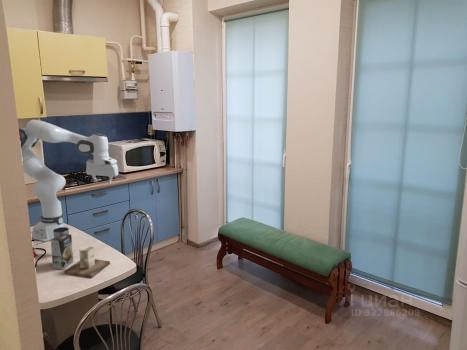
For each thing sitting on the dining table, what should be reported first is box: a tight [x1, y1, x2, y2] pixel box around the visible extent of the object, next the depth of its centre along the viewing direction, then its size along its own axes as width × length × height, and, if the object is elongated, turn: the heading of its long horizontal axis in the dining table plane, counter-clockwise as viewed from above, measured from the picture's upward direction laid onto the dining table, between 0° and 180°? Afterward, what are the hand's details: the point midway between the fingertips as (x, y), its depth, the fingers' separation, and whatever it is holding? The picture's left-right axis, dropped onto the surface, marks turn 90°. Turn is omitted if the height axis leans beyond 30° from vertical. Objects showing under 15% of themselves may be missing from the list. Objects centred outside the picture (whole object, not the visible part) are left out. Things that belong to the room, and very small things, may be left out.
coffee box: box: [50, 233, 74, 270], centre depth 192 cm, size 9×6×16 cm
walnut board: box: [64, 258, 111, 279], centre depth 191 cm, size 16×16×2 cm
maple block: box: [79, 245, 95, 269], centre depth 189 cm, size 5×5×10 cm
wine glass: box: [53, 226, 70, 238], centre depth 205 cm, size 8×8×15 cm
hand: (102, 182), depth 220 cm, fingers open, 8 cm apart
